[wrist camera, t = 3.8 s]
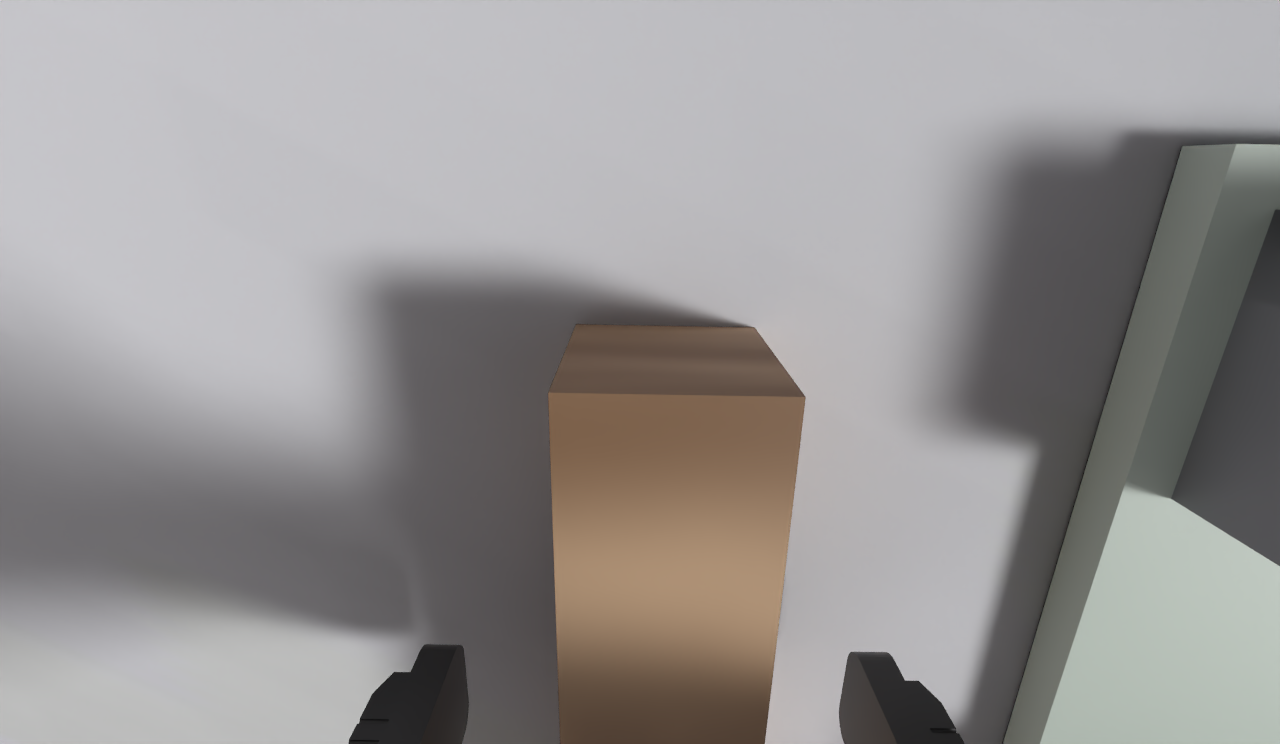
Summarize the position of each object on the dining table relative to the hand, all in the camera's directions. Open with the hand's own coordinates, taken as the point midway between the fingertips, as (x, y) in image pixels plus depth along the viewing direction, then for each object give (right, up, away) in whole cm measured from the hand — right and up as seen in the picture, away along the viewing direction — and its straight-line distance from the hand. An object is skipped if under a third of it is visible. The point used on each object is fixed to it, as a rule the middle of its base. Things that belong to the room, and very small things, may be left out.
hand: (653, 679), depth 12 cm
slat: (0, +1, +2) cm, 2 cm away
